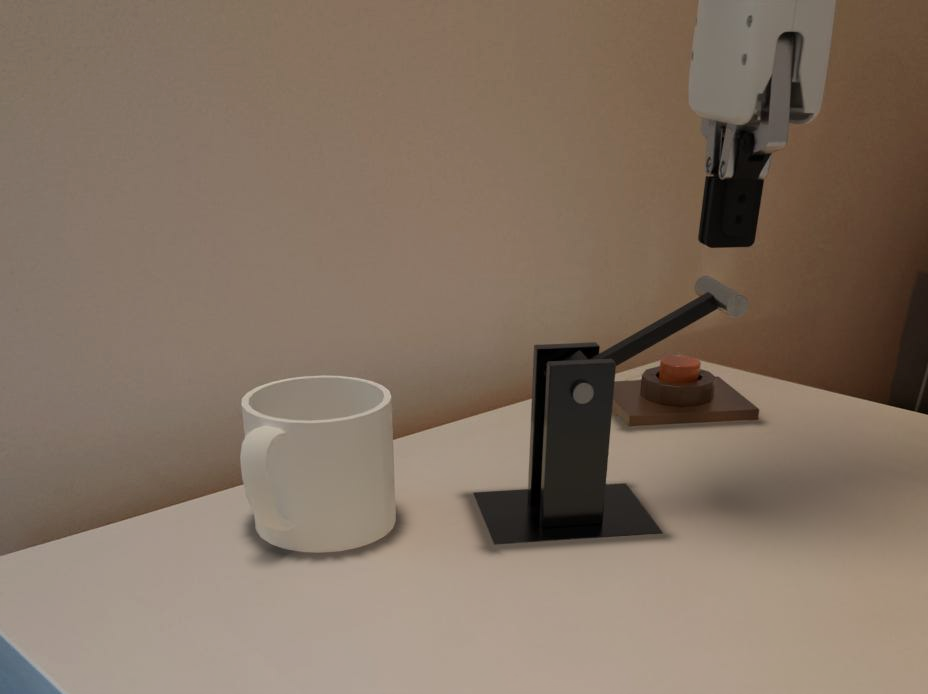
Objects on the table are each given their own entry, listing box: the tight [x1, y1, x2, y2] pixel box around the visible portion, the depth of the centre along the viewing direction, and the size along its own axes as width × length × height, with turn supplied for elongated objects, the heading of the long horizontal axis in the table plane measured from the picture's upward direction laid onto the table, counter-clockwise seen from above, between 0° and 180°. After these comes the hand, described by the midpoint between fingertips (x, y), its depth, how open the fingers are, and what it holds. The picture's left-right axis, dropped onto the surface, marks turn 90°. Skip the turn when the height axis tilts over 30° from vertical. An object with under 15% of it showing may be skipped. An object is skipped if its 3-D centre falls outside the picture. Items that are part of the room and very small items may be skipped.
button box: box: [612, 365, 760, 427], centre depth 93 cm, size 12×10×4 cm
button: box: [659, 355, 702, 383], centre depth 91 cm, size 4×4×2 cm
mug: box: [239, 374, 397, 554], centre depth 69 cm, size 13×10×10 cm
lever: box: [544, 275, 749, 375], centre depth 67 cm, size 13×6×2 cm, turn 98°
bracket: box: [472, 341, 664, 546], centre depth 70 cm, size 12×9×13 cm
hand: (725, 244), depth 64 cm, fingers closed
